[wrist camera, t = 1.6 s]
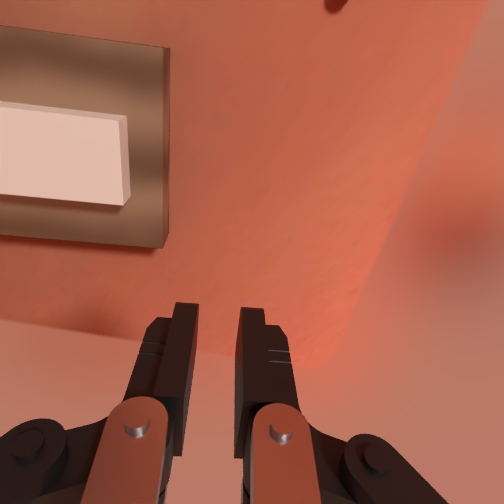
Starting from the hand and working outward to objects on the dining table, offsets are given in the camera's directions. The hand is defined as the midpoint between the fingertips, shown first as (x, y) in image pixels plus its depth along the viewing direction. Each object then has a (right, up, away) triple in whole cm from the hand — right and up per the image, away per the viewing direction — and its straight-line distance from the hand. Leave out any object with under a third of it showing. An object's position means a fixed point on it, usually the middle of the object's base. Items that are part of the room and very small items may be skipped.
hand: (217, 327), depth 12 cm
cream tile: (-12, +10, +15) cm, 22 cm away
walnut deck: (-13, +11, +17) cm, 24 cm away
